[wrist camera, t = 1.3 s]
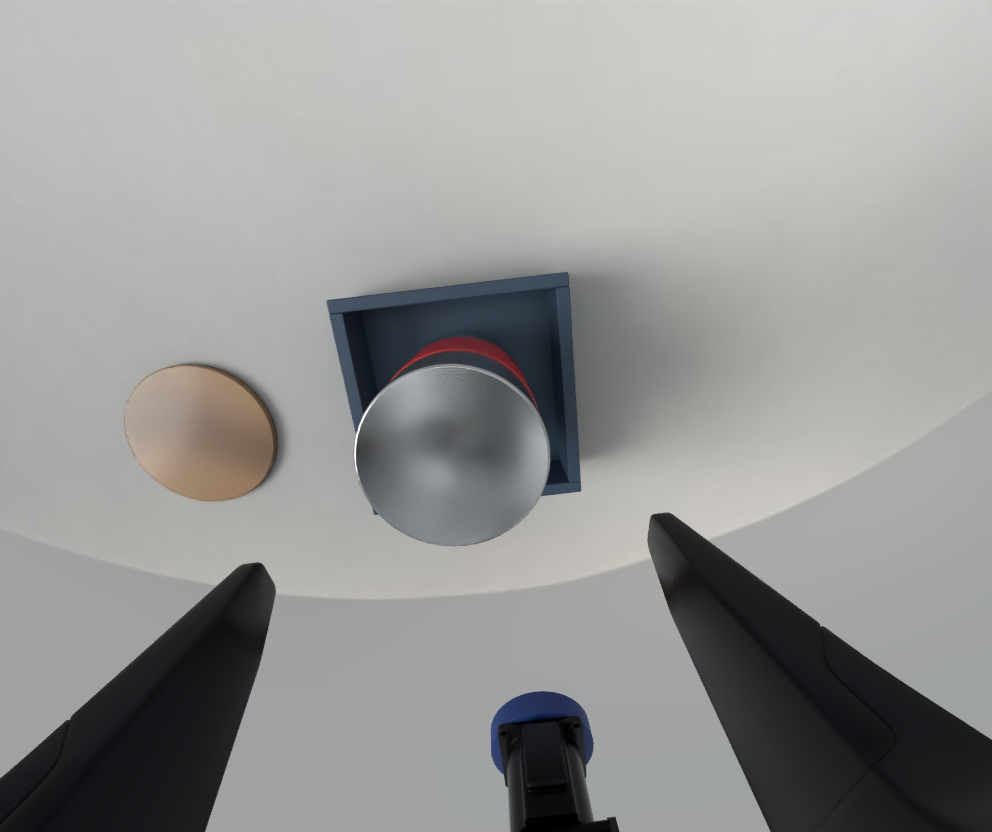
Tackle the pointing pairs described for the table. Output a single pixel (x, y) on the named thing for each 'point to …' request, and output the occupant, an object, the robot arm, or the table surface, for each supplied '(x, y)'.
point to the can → (454, 444)
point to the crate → (477, 308)
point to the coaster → (200, 432)
